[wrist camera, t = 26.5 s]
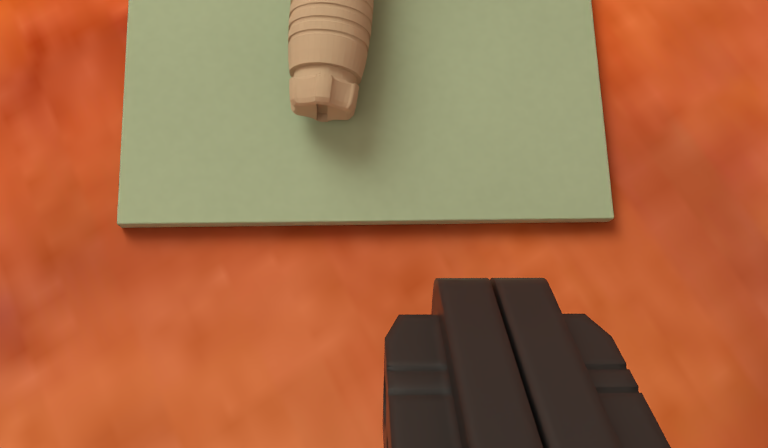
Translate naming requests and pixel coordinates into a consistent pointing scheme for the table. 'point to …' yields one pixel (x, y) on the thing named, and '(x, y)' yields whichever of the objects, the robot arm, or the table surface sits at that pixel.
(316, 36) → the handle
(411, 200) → the mat
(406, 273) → the table surface
